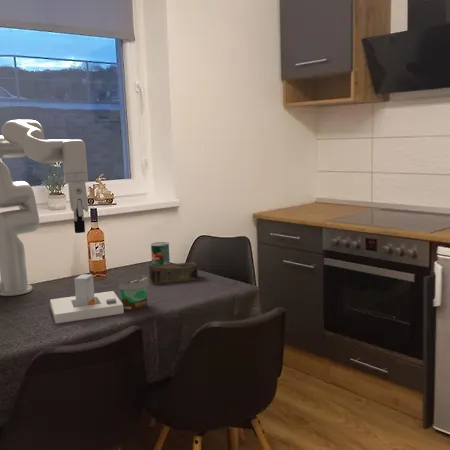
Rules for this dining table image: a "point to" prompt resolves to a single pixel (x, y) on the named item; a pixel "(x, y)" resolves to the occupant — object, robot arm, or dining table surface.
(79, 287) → the skincare box
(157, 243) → the canned tomato
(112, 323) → the dining table surface
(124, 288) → the food container
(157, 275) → the olive curved block
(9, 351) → the dining table surface
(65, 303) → the socket plate
